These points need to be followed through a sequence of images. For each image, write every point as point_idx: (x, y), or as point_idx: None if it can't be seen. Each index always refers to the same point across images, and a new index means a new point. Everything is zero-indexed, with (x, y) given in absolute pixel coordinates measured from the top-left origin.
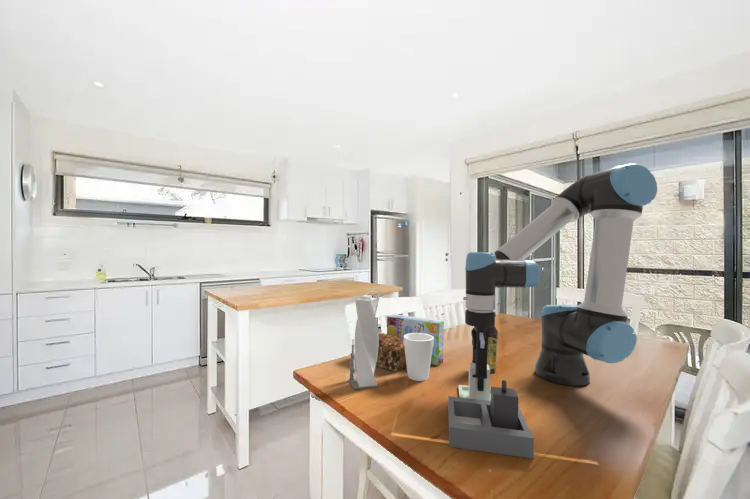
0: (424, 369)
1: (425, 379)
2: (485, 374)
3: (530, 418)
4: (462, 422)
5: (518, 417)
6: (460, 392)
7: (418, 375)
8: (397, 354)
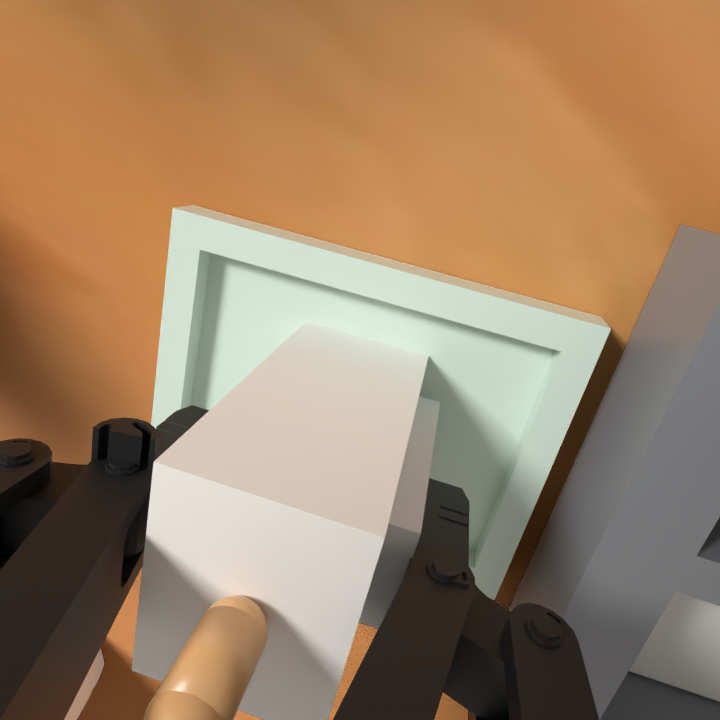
0: None
1: None
2: (580, 690)
3: (663, 75)
4: (671, 640)
5: None
6: None
7: (76, 704)
8: None
